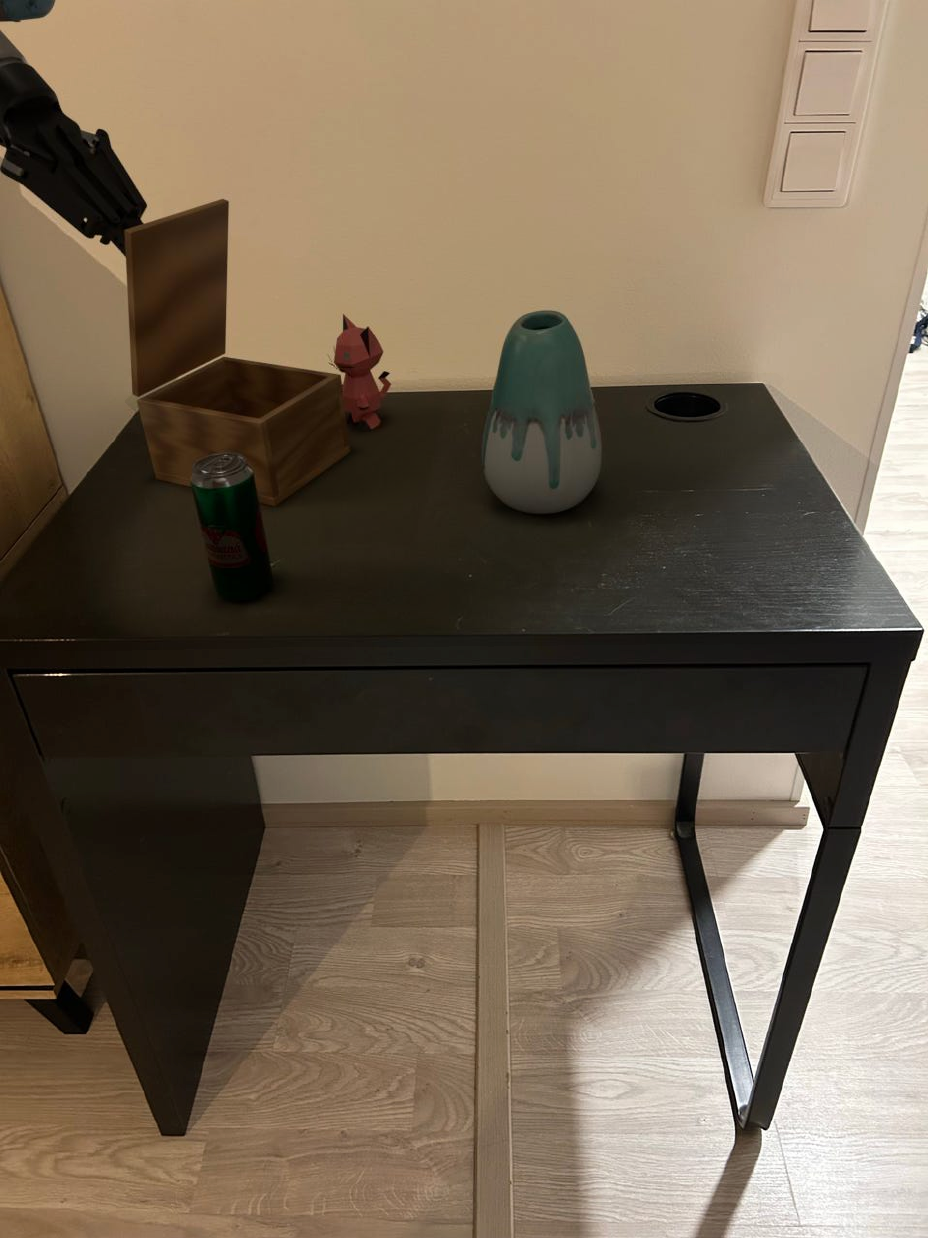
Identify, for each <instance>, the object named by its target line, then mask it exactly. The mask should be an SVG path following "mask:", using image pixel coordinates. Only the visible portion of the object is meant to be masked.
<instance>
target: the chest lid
mask: <svg viewBox="0 0 928 1238" xmlns="http://www.w3.org/2000/svg"><path fill="white" fill-rule="evenodd" d="M229 208H230V202H229V200H227V199H225V198H221V199H217V200H214V201H210V202H208V203H205V204H201V205H198V206H195V207H192V208H189V209H186V210H182V211H179V212H176V213H173V214H170V215H167V216H163V217H160V218H158V219H154V220H151V221H147V222H145V223H144V224H142V225H139V226H136V227H132V228H129V229H126V230H124V231H125V251H126V257H125V270H126V289H127V290H126V291H127V309H128V310H127V311H128V330H129V331H128V332H129V352H130V371H131V372H130V373H131V374H130V375H131V394H132V395H133V396H135V397H136V398H139V397H140V398H141V397H142V396H145V394H146V395H147V393H148V394H149V393H150V392H151V391H152V392H153V391H155V390H156V389H157V388H158V389H159V388H161V386H162V387H163V386H165V385H167V384H169V382H170V383H171V382H173V380H174V381H175V379H176V380H177V378H178V379H179V377H180V378H181V377H182V376H184V375H186V374H188V373H190V372H191V371H193V370H195V369H198V368H199V367H202V366H204V365H206V364H207V363H209V362H211V361H214V360H215V359H217V358H219V357H222V356H223V355H225V354H226V344H227V307H228V306H227V301H228V260H229V259H228V255H229V252H228V251H229V213H230V209H229Z"/></svg>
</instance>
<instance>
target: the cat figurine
mask: <svg viewBox="0 0 928 1238" xmlns="http://www.w3.org/2000/svg"><path fill="white" fill-rule="evenodd" d="M381 345H382V344H381V343H380V341H379V339H378V338H377V336H376V334H374V332H373V331H372V329H371V328H370V327H369V326H366V327H365V328H363V327H358V326H356V325H355V324H354V323H353V322H352V321H351V320H350V319H349V318H348V316H347V315H345V314H344V313H342V332H341V333H340V334H339V335H338V336H337V338H336V342H335V345H333V353H334V357H333V361H332V359H331V357H330V355H329V354H327V356H328V358H329V360H330V361H331V363H330V362H328V364H329V365H330V366H333V368H335V369H336V370H338V372H340V373H343V374H344V377H343V382H342V389H343V397H344V406H345V412H346V413H348V414H347V415H346V422H347V423H352V424H353V423H354V424H355V423H358V426H357V431H361V432H365V431H366V432H367V431H372V430H373V429H375V428H376V427H378V426H379V425H380V423H381V419H380V418H379V416H378V415H377V412H374V411H375V410H376V411H377V410H379V409H381V407H382V406H381V399H383V398H385V397H386V395H387V393H388V391H389V390H390V388H391V386H392V383H391V382H390V380H388V378H387V377H388V376H389V375H390V374H391V372H389V371H385V370H383V371H382V372H381V374H379V376H377V379H378V380H379V382H381V384H383V386H382V387H381V390H379V387H378V384H377V382H376V379H375V377H374V376H373V373H372V371H371V370H372V369H374V368H375V367H376V366H377V365H378V364H379V363H380V361H381V358H382V357H383V354H384V349H383V348H382V346H381Z"/></svg>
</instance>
